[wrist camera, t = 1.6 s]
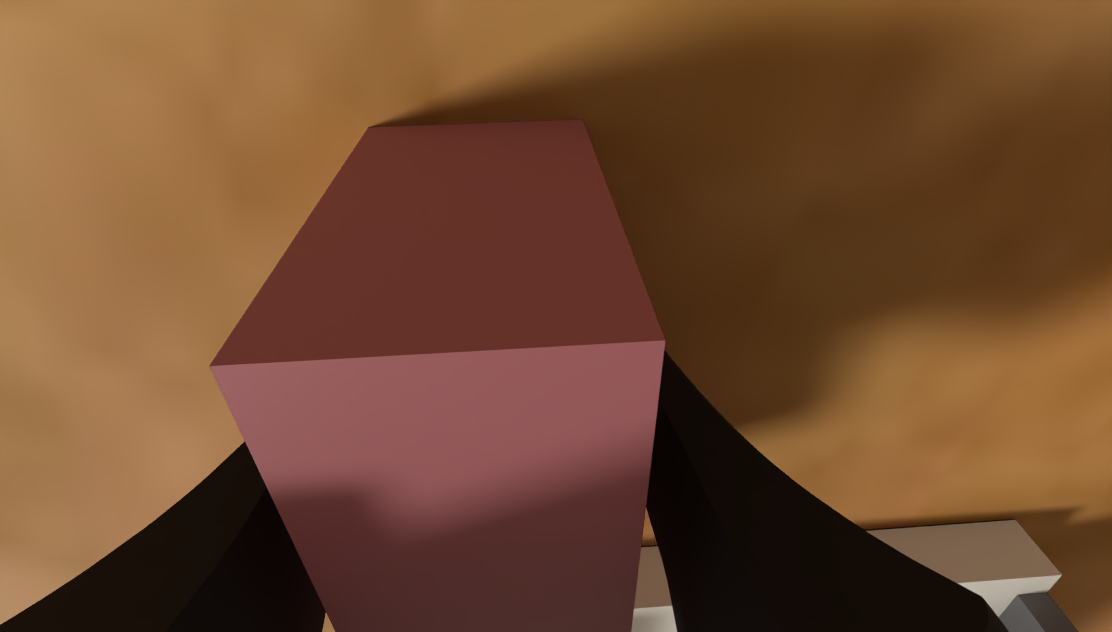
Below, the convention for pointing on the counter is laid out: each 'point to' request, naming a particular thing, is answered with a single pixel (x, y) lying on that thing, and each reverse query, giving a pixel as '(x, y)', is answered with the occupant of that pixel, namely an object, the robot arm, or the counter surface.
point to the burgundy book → (457, 385)
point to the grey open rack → (951, 550)
